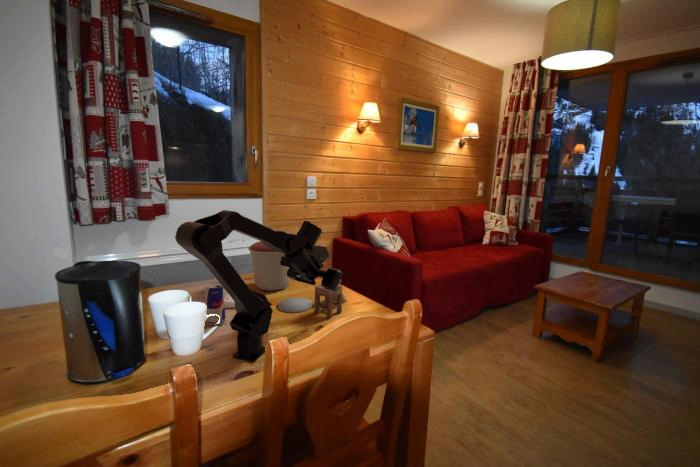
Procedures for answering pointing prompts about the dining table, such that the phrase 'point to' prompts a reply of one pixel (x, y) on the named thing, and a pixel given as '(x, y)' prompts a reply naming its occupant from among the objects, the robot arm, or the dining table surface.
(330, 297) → the stool
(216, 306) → the energy drink
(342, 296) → the chocolate bunny
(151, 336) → the dining table surface
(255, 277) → the canister
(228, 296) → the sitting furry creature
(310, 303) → the mat
